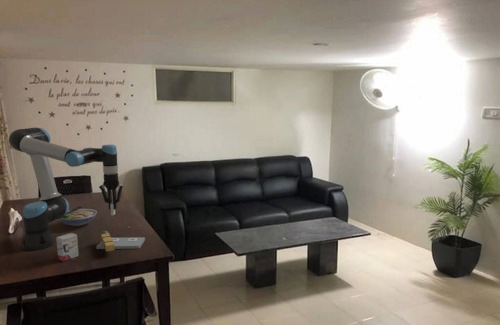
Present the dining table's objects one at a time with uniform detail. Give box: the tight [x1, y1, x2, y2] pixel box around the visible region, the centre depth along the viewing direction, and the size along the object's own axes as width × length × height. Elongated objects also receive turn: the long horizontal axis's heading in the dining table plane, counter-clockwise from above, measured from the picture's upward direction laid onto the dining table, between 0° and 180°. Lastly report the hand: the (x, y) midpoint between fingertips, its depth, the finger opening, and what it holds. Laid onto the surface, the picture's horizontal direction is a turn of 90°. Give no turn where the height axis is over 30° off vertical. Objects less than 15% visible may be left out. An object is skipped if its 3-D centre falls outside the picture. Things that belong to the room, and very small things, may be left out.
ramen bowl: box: [59, 206, 98, 227], centre depth 247 cm, size 25×23×8 cm
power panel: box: [95, 236, 146, 250], centre depth 214 cm, size 23×13×2 cm, turn 92°
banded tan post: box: [100, 230, 115, 252], centre depth 207 cm, size 22×4×5 cm, turn 27°
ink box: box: [55, 232, 79, 262], centre depth 195 cm, size 9×5×12 cm, turn 146°
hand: (113, 214), depth 214 cm, fingers closed
